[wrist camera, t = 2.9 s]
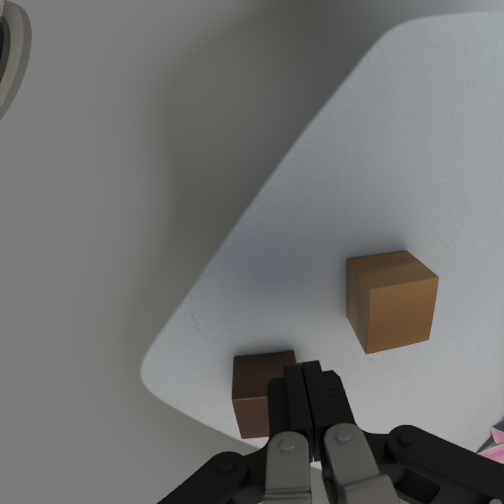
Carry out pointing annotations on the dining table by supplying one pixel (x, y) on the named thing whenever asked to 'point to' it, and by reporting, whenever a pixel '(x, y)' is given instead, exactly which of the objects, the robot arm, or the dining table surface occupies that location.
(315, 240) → the dining table surface
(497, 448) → the lily
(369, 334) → the oak block
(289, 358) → the walnut block
